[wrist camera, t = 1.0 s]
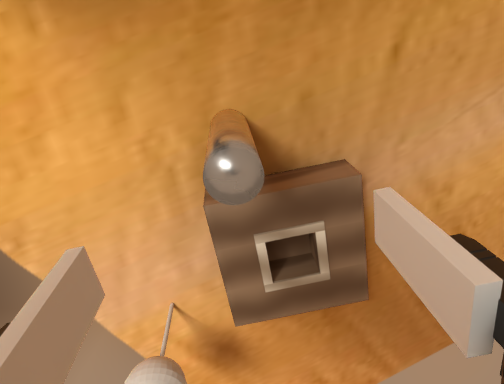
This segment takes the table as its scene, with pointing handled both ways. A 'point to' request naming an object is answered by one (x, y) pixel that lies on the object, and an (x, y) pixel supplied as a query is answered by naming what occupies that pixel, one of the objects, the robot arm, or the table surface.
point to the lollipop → (158, 366)
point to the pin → (232, 160)
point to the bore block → (293, 243)
